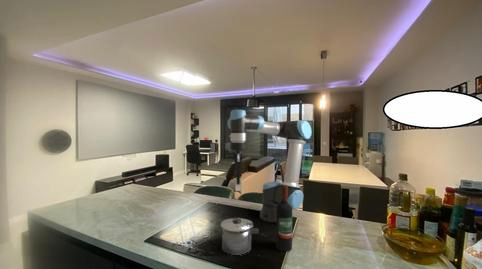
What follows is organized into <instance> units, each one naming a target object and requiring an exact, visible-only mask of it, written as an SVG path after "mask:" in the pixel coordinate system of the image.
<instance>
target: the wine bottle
mask: <svg viewBox="0 0 482 269" xmlns="http://www.w3.org/2000/svg"><path fill="white" fill-rule="evenodd" d="M287 195H288V186H287V185H282V201H281V203H279V204H278V205H277V213H276V222H275V224H276V227H275V229H276V230H275V232H276V233H275V248H276V249H277V250H278V251H281V252H283V251H285V252H291V251H292V250H293V209H292V207H291V205H290V204H289V203H288V201H287ZM285 252H284V253H285Z"/></svg>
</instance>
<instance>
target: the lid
mask: <svg viewBox="0 0 482 269" xmlns="http://www.w3.org/2000/svg"><path fill="white" fill-rule="evenodd" d="M220 228H222V229H224V230H227V231H233V232H241V231H247V230H250V229H251V228H254V222H253V221H252V220H249V219H247V218H242V217H232V218H227V219H226V218H225V219H224V220H222V221H221V222H220Z"/></svg>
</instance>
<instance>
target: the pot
mask: <svg viewBox="0 0 482 269" xmlns="http://www.w3.org/2000/svg"><path fill="white" fill-rule="evenodd" d="M214 228H215V229H214V234H221V237H222V238H221V239H222V240H221V249H222V251H223V253H225V252H226V253H228V254H227V255H229V254H231V255H230V256H233V255H240V256H243V255H242V254H244V255H246V254H245V253H247V252H248V253H250V252H251V250H252V234H257V235H258V234H260V230H259V228H258V227H256V228H255V227H252V228H251V229H250V230H247V231H241V232H233V231H227V230H224V229H222V228H221V227H217V228H216V227H214ZM226 253H225V254H226ZM248 253H247V254H248Z"/></svg>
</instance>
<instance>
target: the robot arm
mask: <svg viewBox="0 0 482 269" xmlns="http://www.w3.org/2000/svg"><path fill="white" fill-rule="evenodd" d="M246 112H247V111H246V110H244V109H232V110H231V111H230V116H229V118H228V119H227V122H226V123H227V128H228V129H229V130H230V135H229V136H228V137H229V138H230V146H229V147H230V148H229V149H230V151H235V153H233V158H234V164H235V172H234V173H235V175H234V176H233V178H235V183H234V184H235V188H234V189H235V190H234V191H235V192H241V191H242V177H243V175H242V163H243V153H241V151H245V150H246V149H247V143H246V141H247V132H252V133H261V134H267V135H271V136H273V137H278V138H281V139H282V138H283V139H287V142H288V150H287V158H286V165H285V172H284V178H283V182H280V181H269V182H264V183H263V185H262V207H261V210H260V212H259V218H260V220H262V221H264V222H267V223H276V213H277V205H278V204H279V203H281V201H282V185H287V186H288V195H287V201H288V203H289V204H290V205H291V207H292V210H297V209H299V208H300V207H301V206H302V204H303V201H304V193H303V191H302V190H301V186H300V184H299V183H300V182H299V180H300V173H301V165H302V157H303V151H304V145H306V143H307V140H309V139H310V138H311V136H312V133H313V132H312V127H311V125H310V122H308V121H307V120H301V119H300V120H283V121H272V122H271V121H266V120H265V118H264V117H263V116H262V115H257V114H256V115H255V114H252V115H251V114H247V113H246Z"/></svg>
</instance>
